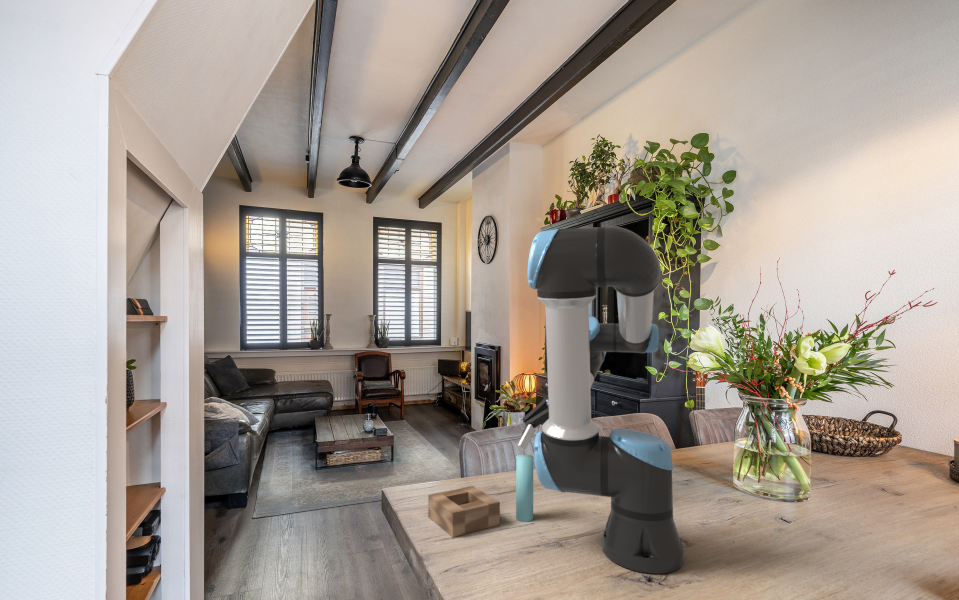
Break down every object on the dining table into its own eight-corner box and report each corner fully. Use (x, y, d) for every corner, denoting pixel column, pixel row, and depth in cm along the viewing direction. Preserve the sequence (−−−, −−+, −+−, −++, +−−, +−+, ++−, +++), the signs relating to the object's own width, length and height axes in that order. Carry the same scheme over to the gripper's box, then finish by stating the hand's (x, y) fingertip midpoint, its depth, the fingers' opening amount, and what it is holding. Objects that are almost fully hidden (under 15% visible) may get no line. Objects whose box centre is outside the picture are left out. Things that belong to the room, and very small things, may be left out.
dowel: (536, 519, 106) (536, 457, 107) (522, 523, 104) (523, 460, 105) (526, 513, 110) (526, 453, 110) (512, 516, 107) (512, 456, 108)
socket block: (499, 524, 103) (499, 501, 103) (452, 537, 97) (452, 513, 97) (472, 506, 113) (472, 485, 114) (428, 516, 107) (428, 495, 107)
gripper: (622, 400, 118) (593, 473, 107) (543, 390, 136) (511, 452, 124) (612, 381, 115) (581, 454, 103) (532, 374, 132) (498, 435, 121)
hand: (542, 453), depth 114 cm, fingers open, 13 cm apart
